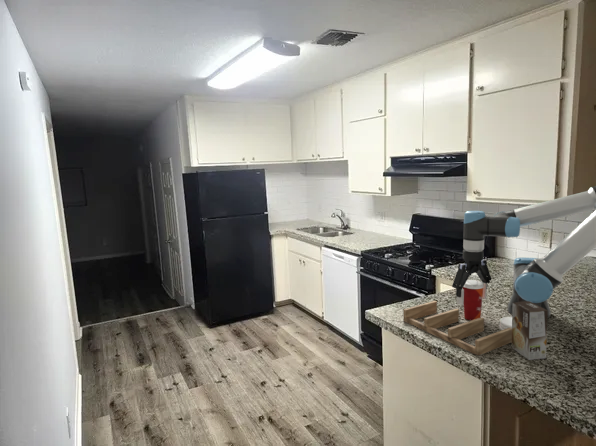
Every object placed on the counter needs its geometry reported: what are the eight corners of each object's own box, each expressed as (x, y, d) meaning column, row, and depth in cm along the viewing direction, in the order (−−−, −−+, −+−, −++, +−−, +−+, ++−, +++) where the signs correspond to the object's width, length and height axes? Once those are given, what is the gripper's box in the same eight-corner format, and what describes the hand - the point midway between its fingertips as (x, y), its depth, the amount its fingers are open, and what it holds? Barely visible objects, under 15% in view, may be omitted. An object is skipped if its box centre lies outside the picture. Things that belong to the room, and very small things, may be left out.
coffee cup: (485, 322, 153) (486, 285, 150) (463, 321, 154) (464, 285, 152) (480, 314, 161) (481, 279, 159) (459, 313, 162) (459, 279, 160)
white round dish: (502, 335, 142) (503, 325, 141) (496, 324, 151) (496, 315, 151) (533, 336, 139) (533, 327, 139) (525, 325, 149) (525, 316, 148)
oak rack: (512, 342, 135) (512, 328, 135) (478, 355, 127) (478, 341, 127) (434, 311, 166) (434, 300, 165) (403, 321, 158) (403, 309, 157)
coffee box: (547, 358, 123) (549, 310, 121) (528, 360, 123) (530, 312, 121) (527, 345, 132) (529, 300, 130) (510, 347, 132) (511, 302, 130)
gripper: (485, 244, 162) (483, 292, 166) (443, 252, 151) (442, 304, 154) (502, 247, 156) (499, 297, 159) (459, 256, 144) (457, 310, 148)
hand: (471, 301), depth 157 cm, fingers open, 13 cm apart
